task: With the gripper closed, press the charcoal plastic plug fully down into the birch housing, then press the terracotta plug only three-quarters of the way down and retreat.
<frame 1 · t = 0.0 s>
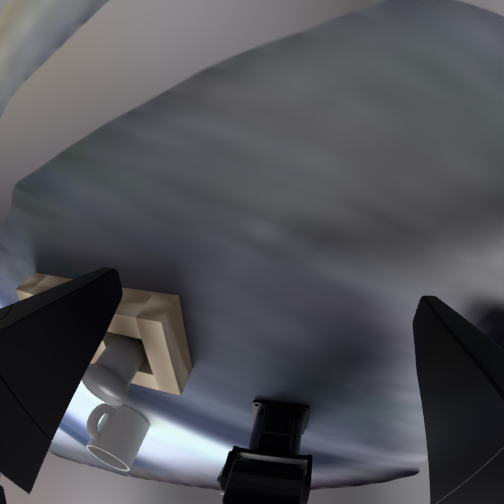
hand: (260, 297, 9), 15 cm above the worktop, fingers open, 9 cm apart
housing: (105, 320, 32), on the worktop
plug charcoal: (116, 367, 26), point 6 cm above the worktop, slide at 0.0 cm
cup: (125, 410, 42), on the worktop
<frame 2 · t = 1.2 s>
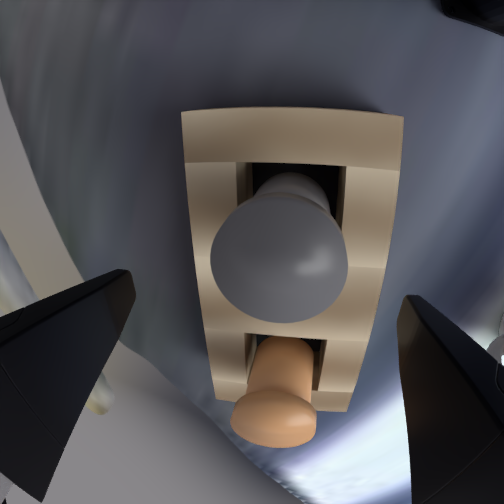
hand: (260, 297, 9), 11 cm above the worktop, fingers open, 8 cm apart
housing: (292, 266, 20), on the worktop
plug charcoal: (285, 233, 13), point 6 cm above the worktop, slide at 0.0 cm
plug terracotta: (279, 389, 17), point 6 cm above the worktop, slide at 0.0 cm
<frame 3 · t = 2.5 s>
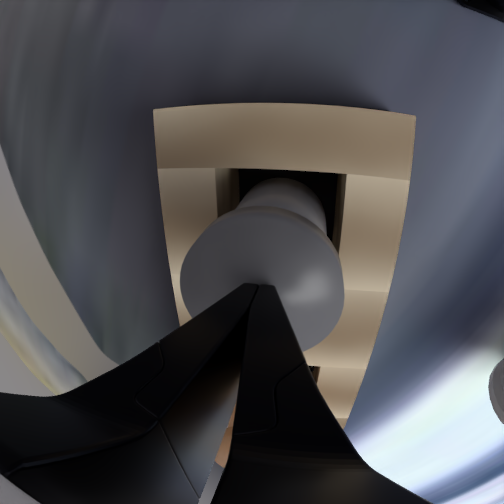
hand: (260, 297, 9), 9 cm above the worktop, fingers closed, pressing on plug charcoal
housing: (284, 283, 18), on the worktop
plug charcoal: (273, 250, 11), point 6 cm above the worktop, slide at 0.4 cm, touching gripper
plug terracotta: (266, 418, 15), point 6 cm above the worktop, slide at 0.0 cm
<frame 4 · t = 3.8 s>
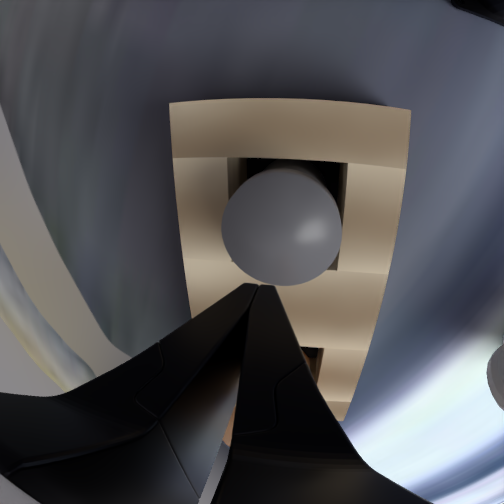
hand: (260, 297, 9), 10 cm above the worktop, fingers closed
housing: (289, 269, 19), on the worktop
plug charcoal: (287, 208, 14), point 3 cm above the worktop, slide at 3.1 cm
plug terracotta: (273, 399, 16), point 6 cm above the worktop, slide at 0.0 cm
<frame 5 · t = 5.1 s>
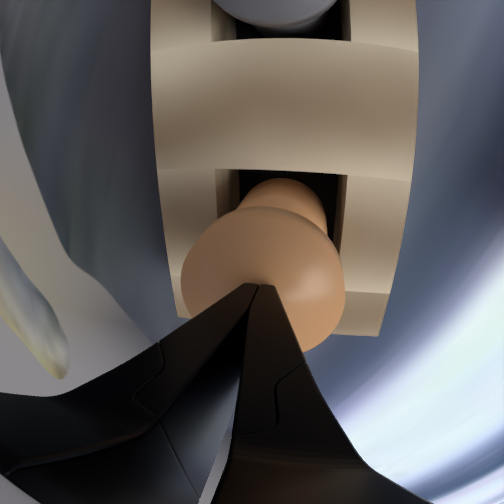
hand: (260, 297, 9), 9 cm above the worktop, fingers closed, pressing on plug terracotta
housing: (288, 103, 14), on the worktop
plug terracotta: (273, 251, 11), point 6 cm above the worktop, slide at 0.5 cm, touching gripper
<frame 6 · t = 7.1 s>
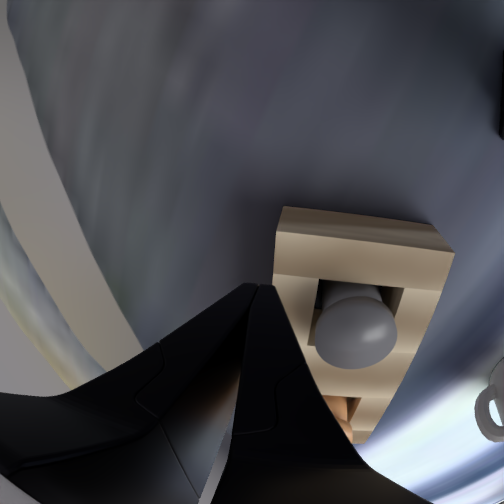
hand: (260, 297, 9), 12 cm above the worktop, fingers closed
housing: (336, 336, 23), on the worktop
plug charcoal: (352, 309, 18), point 3 cm above the worktop, slide at 3.1 cm
plug terracotta: (323, 412, 22), point 4 cm above the worktop, slide at 2.2 cm
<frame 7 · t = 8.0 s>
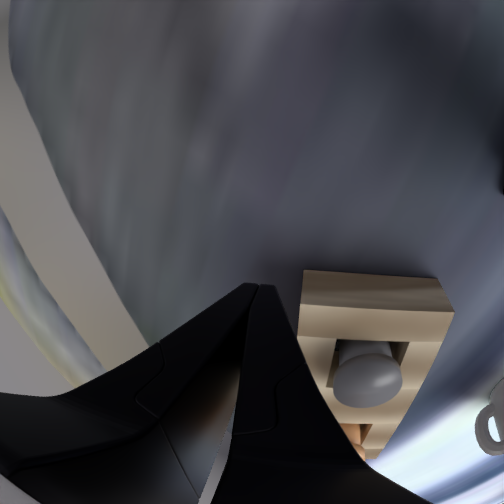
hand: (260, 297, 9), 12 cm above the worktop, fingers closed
housing: (350, 371, 25), on the worktop
plug charcoal: (365, 357, 20), point 3 cm above the worktop, slide at 3.1 cm
plug terracotta: (339, 436, 24), point 4 cm above the worktop, slide at 2.2 cm
cup: (503, 388, 24), on the worktop
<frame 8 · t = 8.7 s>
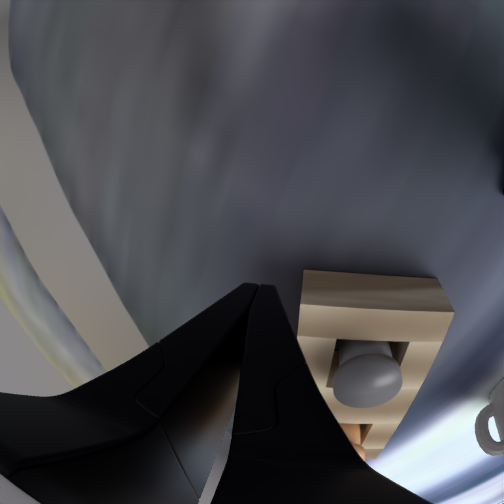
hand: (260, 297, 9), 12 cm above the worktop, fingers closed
housing: (350, 371, 25), on the worktop
plug charcoal: (365, 357, 20), point 3 cm above the worktop, slide at 3.1 cm
plug terracotta: (339, 436, 24), point 4 cm above the worktop, slide at 2.2 cm
cup: (503, 388, 24), on the worktop
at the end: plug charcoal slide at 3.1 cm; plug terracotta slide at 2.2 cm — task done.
